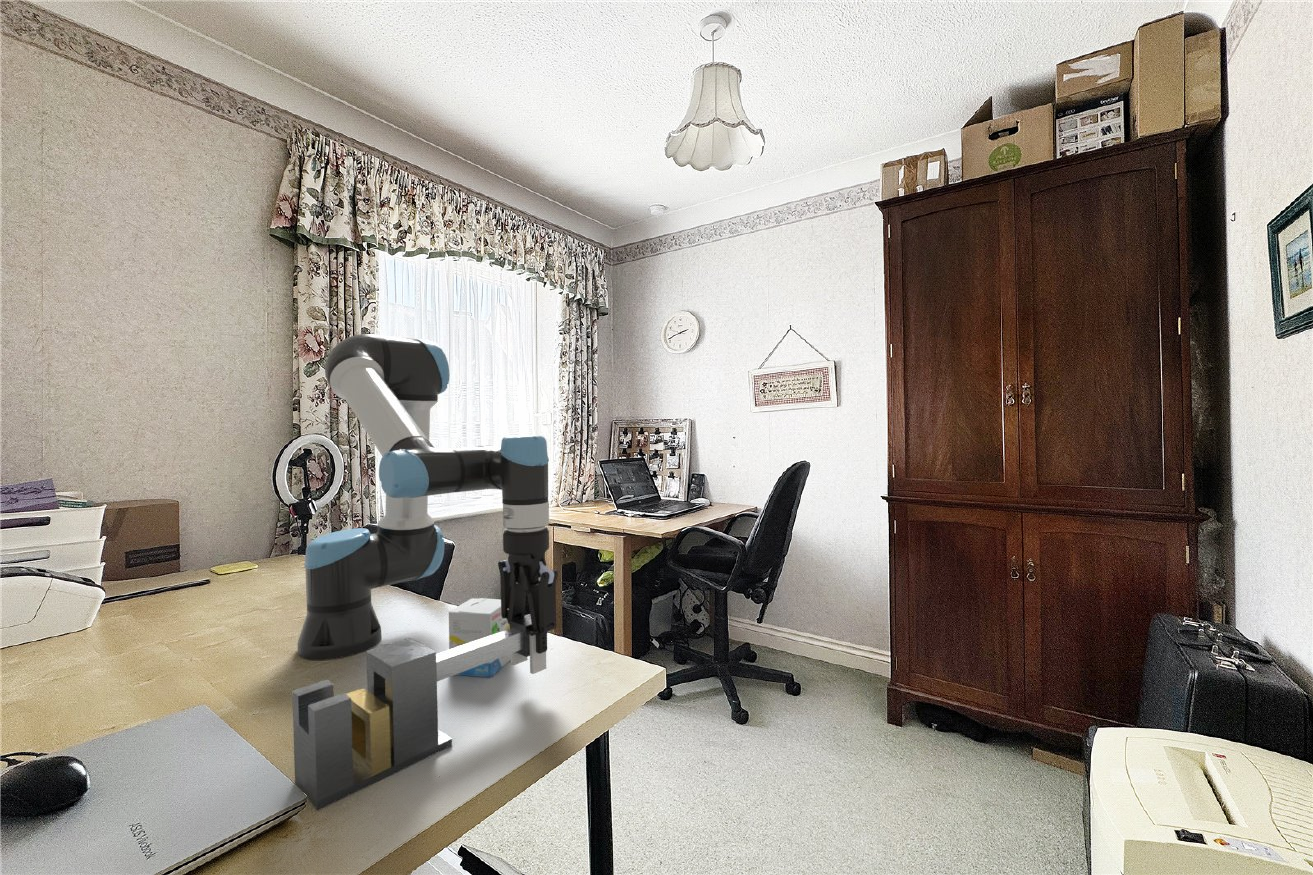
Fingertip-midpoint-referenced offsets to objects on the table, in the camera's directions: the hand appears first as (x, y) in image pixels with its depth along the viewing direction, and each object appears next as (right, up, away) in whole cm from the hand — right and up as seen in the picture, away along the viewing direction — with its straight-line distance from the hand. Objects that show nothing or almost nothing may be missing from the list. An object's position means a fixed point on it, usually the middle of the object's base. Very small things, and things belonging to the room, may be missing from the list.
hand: (528, 666), depth 93 cm
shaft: (-7, +3, -8) cm, 11 cm away
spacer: (-17, -4, -20) cm, 26 cm away
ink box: (-11, -5, +11) cm, 17 cm away
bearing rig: (-16, -5, -19) cm, 25 cm away
